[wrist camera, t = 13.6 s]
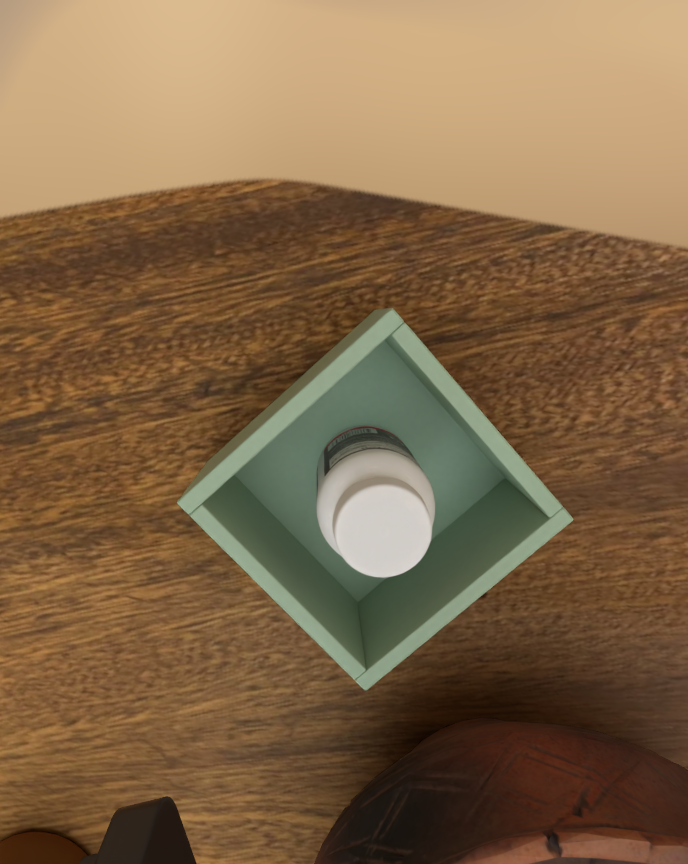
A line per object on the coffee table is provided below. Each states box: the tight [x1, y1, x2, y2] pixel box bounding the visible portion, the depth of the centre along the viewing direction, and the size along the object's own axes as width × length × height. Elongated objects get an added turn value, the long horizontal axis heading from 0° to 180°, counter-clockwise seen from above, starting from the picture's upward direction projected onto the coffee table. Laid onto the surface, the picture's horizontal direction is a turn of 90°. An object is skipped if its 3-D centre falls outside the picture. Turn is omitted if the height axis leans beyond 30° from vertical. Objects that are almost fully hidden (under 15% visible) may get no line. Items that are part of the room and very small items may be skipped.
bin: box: [177, 308, 573, 691], centre depth 31 cm, size 13×13×8 cm
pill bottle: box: [316, 425, 435, 577], centre depth 29 cm, size 5×5×10 cm
